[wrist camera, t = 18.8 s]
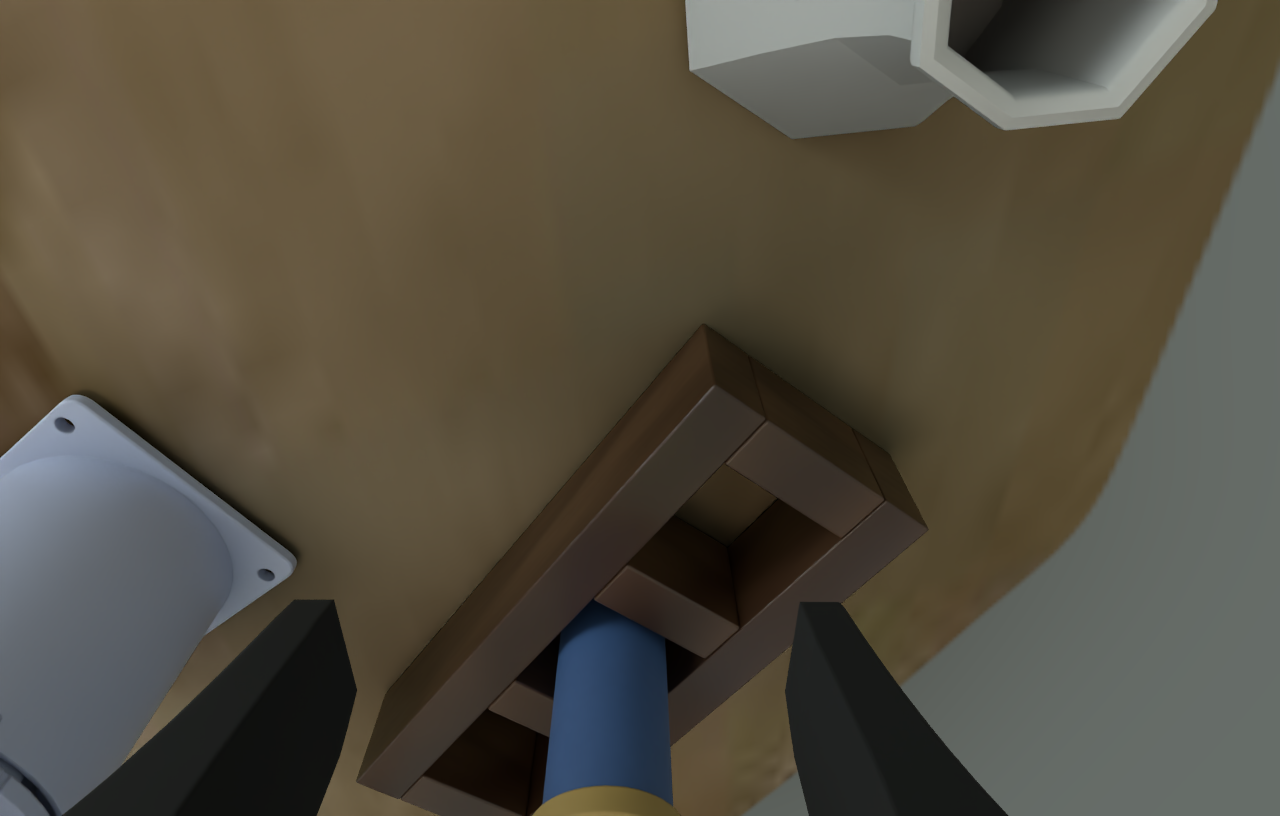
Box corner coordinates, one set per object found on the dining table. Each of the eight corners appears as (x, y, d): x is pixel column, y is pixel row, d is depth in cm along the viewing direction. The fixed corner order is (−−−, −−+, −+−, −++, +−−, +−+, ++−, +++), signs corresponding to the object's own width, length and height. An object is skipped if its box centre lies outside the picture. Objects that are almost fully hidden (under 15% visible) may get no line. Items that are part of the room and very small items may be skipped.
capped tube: (605, 643, 27) (593, 923, 19) (533, 578, 25) (488, 854, 17) (694, 593, 26) (721, 870, 18) (624, 522, 24) (620, 792, 16)
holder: (384, 694, 28) (354, 783, 25) (702, 322, 21) (714, 384, 18) (549, 766, 30) (540, 856, 27) (890, 454, 23) (929, 529, 20)
